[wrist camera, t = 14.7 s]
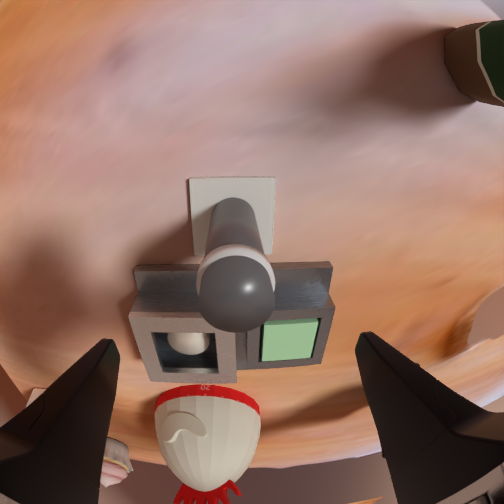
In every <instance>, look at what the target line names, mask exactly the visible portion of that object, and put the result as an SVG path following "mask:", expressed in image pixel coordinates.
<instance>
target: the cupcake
mask: <svg viewBox="0 0 504 504" xmlns="http://www.w3.org/2000/svg"><path fill="white" fill-rule="evenodd" d="M130 471H133V469H132V466H131V464H130V460H129V452H128V448H127V446H126V445H125V444H123V443H121V442H119V441H117V440H115V439H112V438H108V437H107V441H106V446H105V452H104V459H103V465H102V472H101V480H100V483H101V484H103V485H104V486H105V487H107V486H108V485H112V484H116V483H120V482H121V480H122V479H124V478H126V477H127V472H129V473H130Z"/></svg>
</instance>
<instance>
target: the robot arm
mask: <svg viewBox="0 0 504 504" xmlns="http://www.w3.org/2000/svg"><path fill="white" fill-rule="evenodd" d="M355 354H356V358H357V363H358V367H359V371H360V376H361V380H362V385H363V388H364V391H365V394H366V397H367V400H368V403H369V406H370V409H371V412H372V415H373V418H374V422H375V425H376V428H377V431H378V435H379V439H380V443H381V448H382V457H383V458H385V459H386V461H387V464H388V468H389V471H390V475H391V479H392V483H393V487H394V490H395V494H396V498H397V502H398V504H504V412H503V413H495V412H489V411H487V410H484V409H482V408H481V407H479V406H477V405H476V404H474V403H472V402H471V401H469V400H467V399H466V398H464V397H462V396H461V395H459V394H457V393H456V392H454V391H453V390H451V389H450V388H448V387H447V386H446V385H444V384H443V383H441V382H440V381H439V380H437V379H436V378H435V377H433V376H432V375H430V374H429V373H428V372H426V371H425V370H424V369H422V368H421V367H420V365H419V364H415V363H414V362H413V361H411V360H410V359H409V358H407V357H406V356H405V355H403V354H402V353H400V352H399V351H398V350H396V349H395V348H394V347H392V346H391V345H390V344H388V343H387V342H385V341H384V340H383V339H381V338H380V337H379V336H377V335H376V334H374V333H373V332H371V331H369V332H362V333H361V334H360V336H359V339H358V342H357V345H356V348H355ZM119 364H120V354H119V352H118V349H117V347H116V344H115V342H114V340H113V339H105V338H104V339H102V340H100V341H99V342H98V343H97V344H96V345H95V346H93V347H92V348H91V349H90V350H89V351H88V352H87V353H86V354H84V355H83V356H82V357H81V358H80V359H79V360H78V361H77V362H76V363H74V364H73V365H72V366H71V367H70V368H69V369H68V370H67V371H66V372H64V373H63V374H62V375H61V376H60V377H59V378H58V379H57V380H56V381H55V382H54V383H52V384H51V385H50V386H49V387H48V388H47V389H46V390H45V391H44V392H43V393H42V394H40V395H39V396H38V397H37V398H36V399H35V400H34V401H33V402H32V403H31V404H30V405H28V406H27V407H26V408H25V409H23V410H22V411H21V412H20V413H19V414H17V415H16V416H15V417H13V418H12V419H11V420H9V421H8V422H7V423H6V424H4V425H3V426H2V427H0V504H98V498H99V488H100V480H101V472H102V465H103V459H104V452H105V446H106V441H107V435H108V430H109V425H110V420H111V415H112V410H113V405H114V401H115V396H116V389H117V380H118V372H119Z"/></svg>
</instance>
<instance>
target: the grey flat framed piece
mask: <svg viewBox="0 0 504 504" xmlns="http://www.w3.org/2000/svg"><path fill="white" fill-rule="evenodd" d="M270 264H271V266H272V269H273V273H274V277H275V290H274V296H275V307H274V310H273V313H272V315H271V316H270V317H269V319H268V320H267V321H276V320H294V319H309V318H317V320H318V326H317V330H316V335H315V339H314V344H313V348H312V353H311V357H310V358H302V359H290V360H277V361H262V357H261V350H260V335H261V326H259V327H257V328H255V329H253V330H250V331H246V332H239V333H232V332H226V331H222V330H219V329H217V328H215V327H213V326H211V325H210V324H209V323H208V322H206V321H205V319H204V318H203V317H202V315H201V313H200V311H199V307H198V298H199V296H198V293H197V288H196V280H197V274H198V269H199V266H200V264H193V265H137V266H136V268H135V270H134V275H135V280H136V284H137V289H138V294H137V296H136V299H135V301H134V303H133V306H132V308H131V311H130V313H129V316H128V318H129V321H130V324H131V328H132V331H133V334H134V337H135V340H136V343H137V346H138V349H139V352H140V354H141V357H142V360H143V363H144V365H145V368H146V371H147V373H148V376H149V379H150V381H155V382H173V383H237V375H236V370H249V369H268V368H283V367H295V366H305V365H314V364H321V361H322V358H323V354H324V350H325V347H326V343H327V339H328V335H329V332H330V328H331V324H332V320H333V315H334V311H335V305H334V303H333V301H332V299H331V297H330V295H329V293H328V292H329V287H330V282H331V277H332V271H333V266H332V265H331V263H330V262H293V263H270ZM168 333H210V337H209V346H208V348H207V349H206V350H205V351H203V352H202V353H199V354H195V355H188V354H183V353H180V352H178V351H176V350H174V349H173V348H172V347H171V346H170V344H169V343H168V339H167V337H168Z"/></svg>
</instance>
